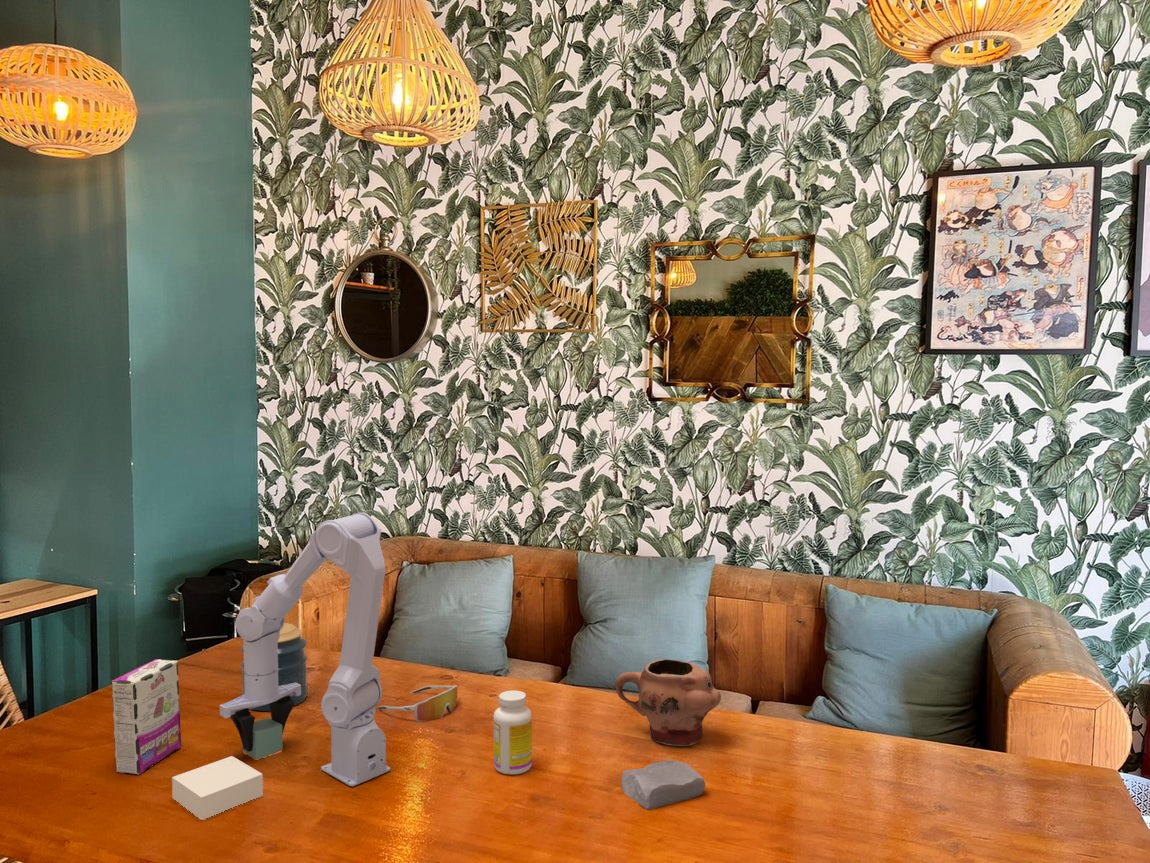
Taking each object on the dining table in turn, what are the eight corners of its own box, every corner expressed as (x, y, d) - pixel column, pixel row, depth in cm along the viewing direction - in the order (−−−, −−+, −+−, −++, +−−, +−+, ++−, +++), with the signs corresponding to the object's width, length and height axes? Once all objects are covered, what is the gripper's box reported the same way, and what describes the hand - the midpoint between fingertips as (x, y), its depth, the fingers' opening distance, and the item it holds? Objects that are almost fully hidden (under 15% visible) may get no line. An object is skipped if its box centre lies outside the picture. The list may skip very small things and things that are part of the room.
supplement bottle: (538, 763, 146) (538, 691, 145) (520, 779, 140) (520, 705, 139) (505, 755, 148) (505, 685, 148) (486, 771, 142) (486, 698, 142)
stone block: (615, 798, 137) (647, 813, 129) (614, 767, 138) (645, 781, 129) (675, 785, 143) (709, 798, 134) (673, 755, 144) (707, 768, 135)
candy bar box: (158, 745, 152) (155, 658, 151) (182, 747, 151) (180, 659, 150) (112, 773, 141) (110, 679, 140) (138, 776, 140) (135, 681, 139)
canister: (262, 687, 181) (260, 608, 180) (318, 690, 179) (317, 610, 178) (229, 710, 168) (227, 625, 167) (289, 714, 166) (288, 628, 165)
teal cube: (282, 751, 150) (282, 724, 149) (256, 761, 146) (256, 733, 146) (268, 743, 153) (268, 717, 153) (242, 752, 149) (242, 725, 149)
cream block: (263, 798, 134) (262, 774, 134) (202, 823, 126) (201, 797, 126) (232, 778, 140) (232, 755, 140) (172, 801, 133) (172, 777, 132)
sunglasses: (425, 728, 160) (422, 702, 160) (370, 722, 168) (368, 698, 168) (472, 704, 172) (469, 680, 172) (418, 700, 180) (416, 677, 180)
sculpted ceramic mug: (610, 746, 152) (610, 672, 151) (618, 720, 164) (618, 651, 163) (720, 755, 149) (721, 680, 148) (720, 727, 161) (721, 657, 160)
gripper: (286, 655, 157) (287, 725, 157) (211, 676, 146) (212, 751, 147) (306, 664, 152) (307, 736, 153) (230, 685, 141) (231, 763, 142)
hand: (262, 744), depth 149 cm, fingers closed on teal cube, 5 cm apart
